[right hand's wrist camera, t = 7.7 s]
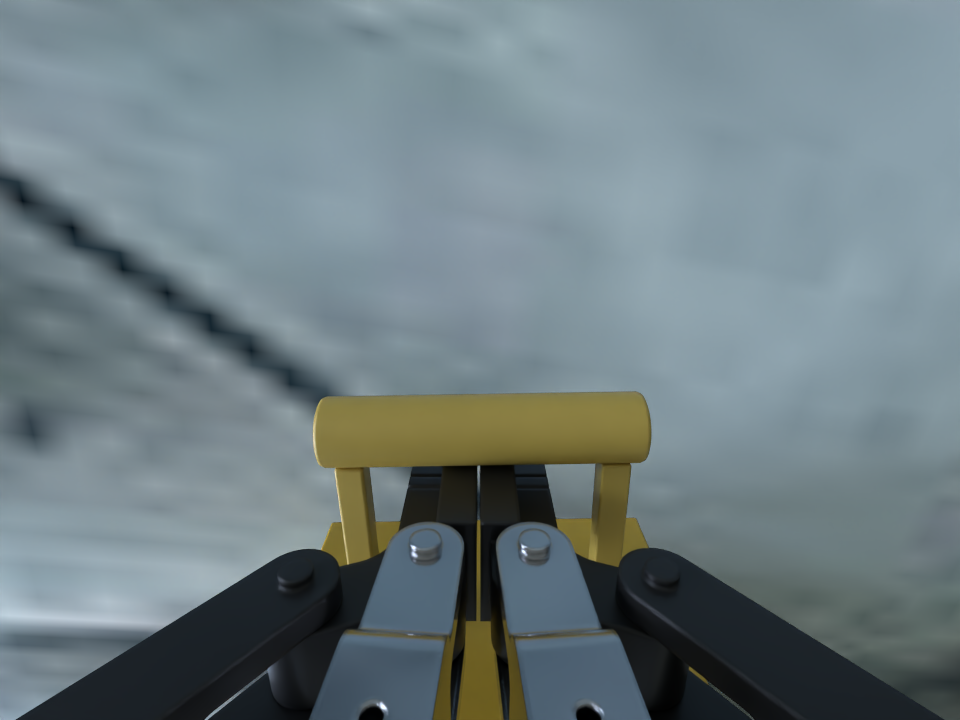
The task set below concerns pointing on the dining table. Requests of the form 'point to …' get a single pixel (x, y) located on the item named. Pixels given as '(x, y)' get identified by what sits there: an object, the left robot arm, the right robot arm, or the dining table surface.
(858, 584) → the dining table surface
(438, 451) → the drawer
